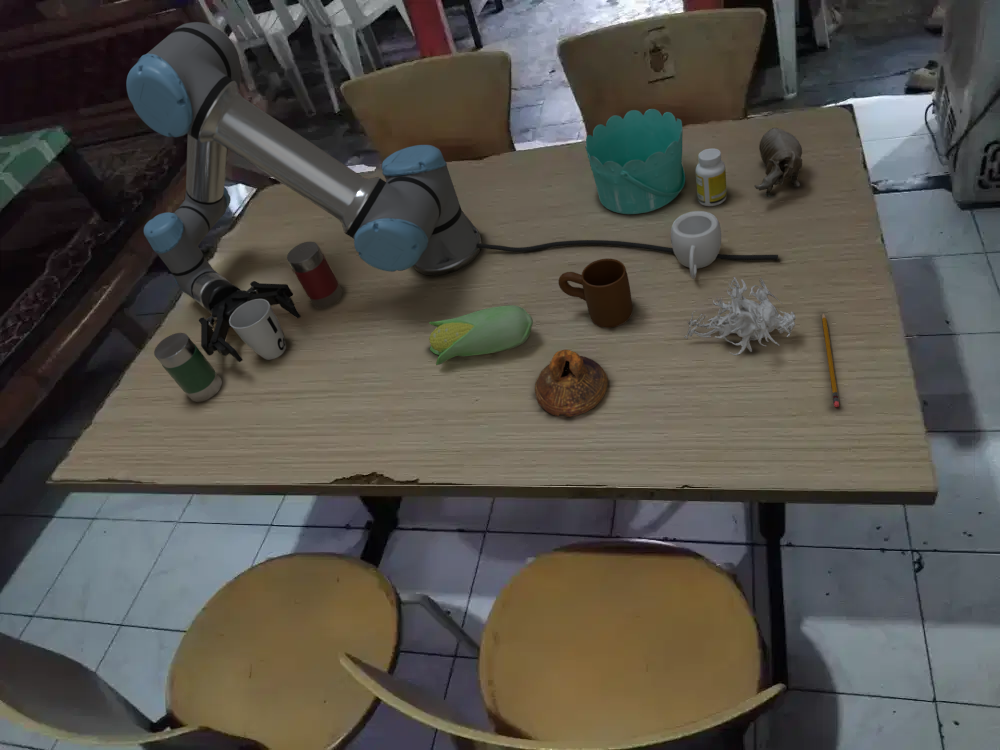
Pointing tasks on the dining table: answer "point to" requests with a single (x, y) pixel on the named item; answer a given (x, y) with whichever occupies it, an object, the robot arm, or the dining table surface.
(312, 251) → the maroon can
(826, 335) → the pencil
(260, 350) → the cup
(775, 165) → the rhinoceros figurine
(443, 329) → the corn
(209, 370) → the green can
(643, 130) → the bucket
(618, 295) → the mug
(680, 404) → the dining table surface
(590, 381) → the bell
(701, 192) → the supplement bottle
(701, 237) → the mug
